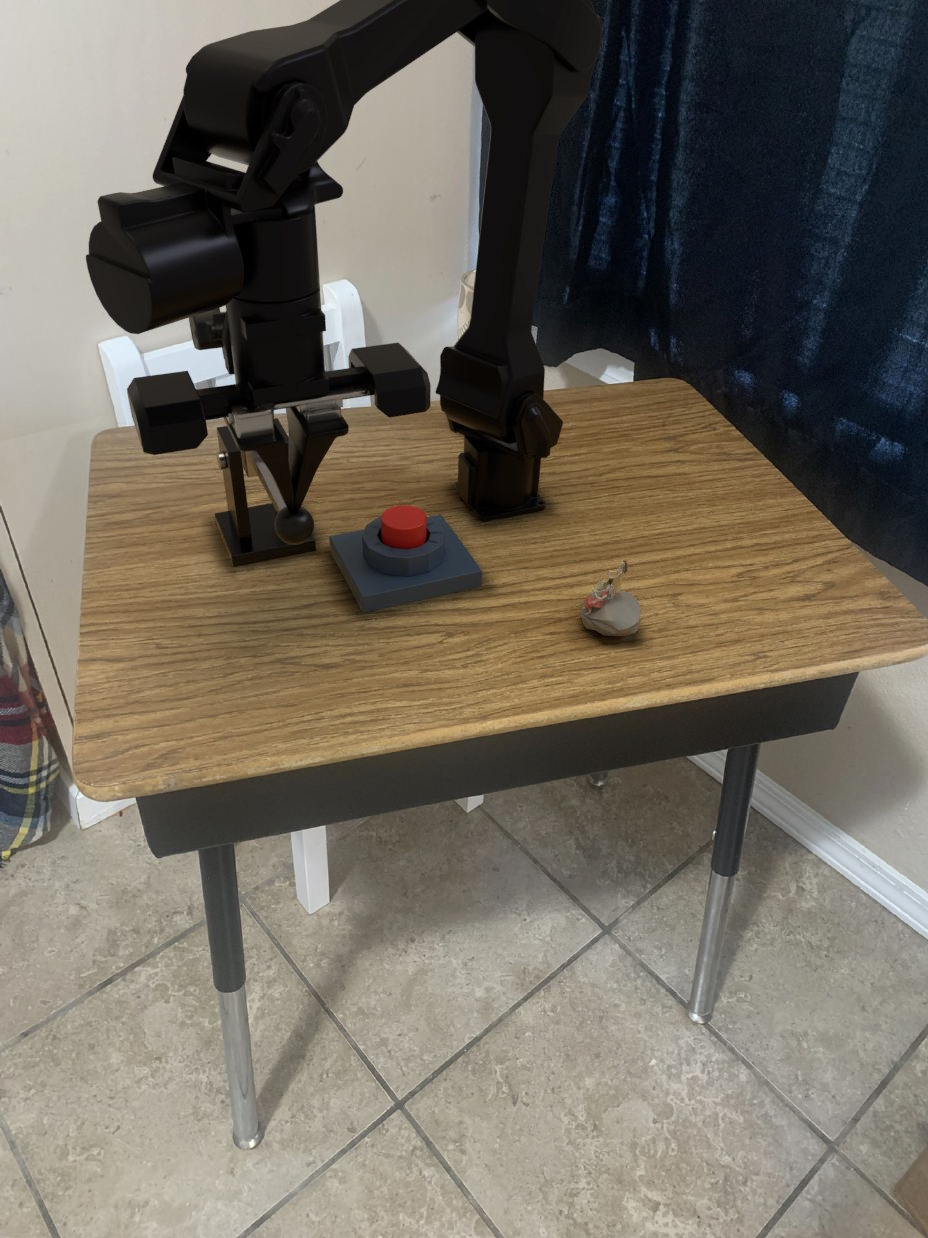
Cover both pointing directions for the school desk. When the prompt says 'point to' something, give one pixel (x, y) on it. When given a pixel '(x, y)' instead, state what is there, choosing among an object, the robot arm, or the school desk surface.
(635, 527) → the school desk surface
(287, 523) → the lever handle
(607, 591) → the figurine
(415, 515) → the red button
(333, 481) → the school desk surface
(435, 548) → the button block
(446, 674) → the school desk surface
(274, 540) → the lever bracket
